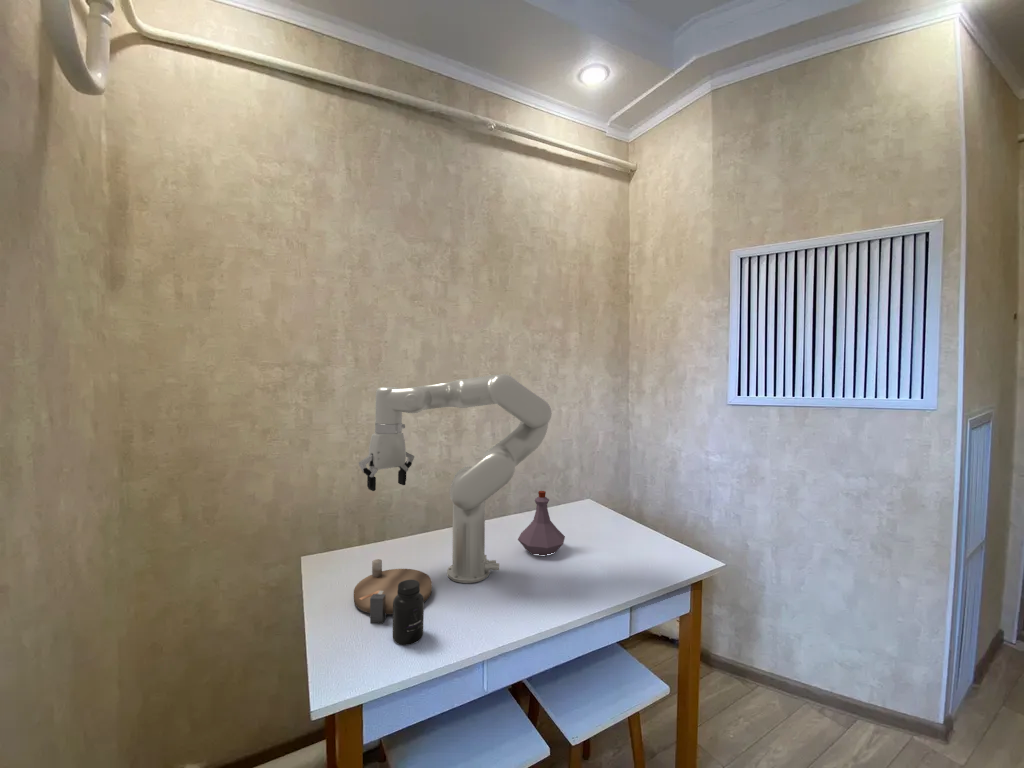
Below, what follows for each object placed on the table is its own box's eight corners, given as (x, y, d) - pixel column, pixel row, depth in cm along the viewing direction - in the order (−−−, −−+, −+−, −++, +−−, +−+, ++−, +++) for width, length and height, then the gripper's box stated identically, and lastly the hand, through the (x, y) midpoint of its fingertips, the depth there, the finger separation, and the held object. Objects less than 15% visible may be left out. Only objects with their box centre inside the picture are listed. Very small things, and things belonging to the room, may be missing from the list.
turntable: (438, 576, 123) (439, 555, 123) (420, 615, 104) (420, 591, 103) (371, 574, 124) (370, 554, 124) (339, 612, 105) (339, 588, 104)
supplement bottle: (415, 648, 93) (416, 593, 92) (386, 644, 94) (386, 590, 94) (428, 629, 99) (428, 578, 99) (401, 626, 101) (401, 575, 100)
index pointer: (387, 615, 105) (387, 591, 105) (382, 623, 101) (382, 598, 101) (375, 614, 105) (375, 590, 105) (370, 623, 102) (370, 598, 101)
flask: (533, 537, 155) (534, 483, 155) (574, 548, 146) (575, 490, 146) (507, 553, 142) (507, 493, 141) (550, 566, 133) (551, 502, 132)
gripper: (407, 425, 134) (406, 480, 134) (354, 429, 122) (353, 489, 122) (420, 428, 129) (419, 484, 129) (366, 432, 116) (365, 495, 117)
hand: (387, 487), depth 126 cm, fingers open, 9 cm apart
